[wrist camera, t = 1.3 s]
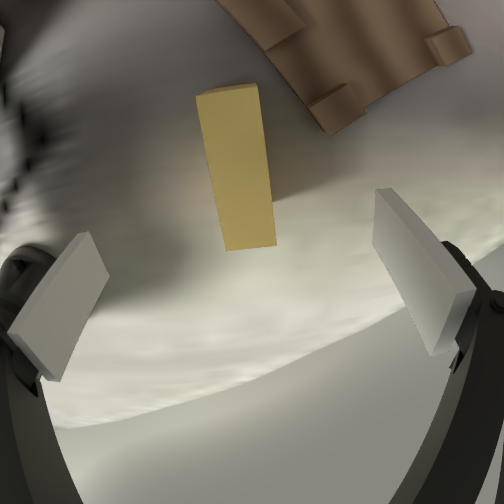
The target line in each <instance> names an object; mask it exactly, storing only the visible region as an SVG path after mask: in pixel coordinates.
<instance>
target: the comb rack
mask: <svg viewBox="0 0 504 504" xmlns="http://www.w3.org/2000/svg"><path fill="white" fill-rule="evenodd" d="M216 1H217V2H218V3H219V4H220V5H221V6H222V7H223V8H224V9H225V10H226V12H227V13H228V14H229V15H230V16H231V17H232V18H233V19H234V20H235V21H236V22H237V23H238V24H239V25H240V26H241V27H242V29H243V30H244V31H245V32H246V33H247V34H248V35H249V36H250V37H251V39H252V40H253V41H254V42H255V43H256V44H257V45H258V47H259V48H260V49H261V50H262V51H263V53H264V54H265V55H266V56H267V57H268V58H269V60H270V61H271V62H272V63H273V65H274V66H275V67H276V68H277V69H278V71H279V72H280V73H281V74H282V76H283V77H284V78H285V80H286V81H287V82H288V83H289V85H290V86H291V87H292V89H293V90H294V91H295V93H296V94H297V95H298V97H299V98H300V99H301V101H302V102H303V103H304V105H305V106H306V107H307V109H308V110H309V112H310V113H311V114H312V116H313V117H314V119H315V120H316V121H317V123H318V124H319V126H320V127H321V129H322V130H323V131H324V132H325V133H326V134H327V135H328V136H329V137H330V136H331V135H333V134H334V133H336V132H337V131H339V130H341V129H342V128H344V127H345V126H347V125H348V124H350V123H352V122H353V121H355V120H356V119H358V118H360V117H361V116H363V115H364V114H366V111H365V110H364V107H366V106H367V105H369V104H371V103H372V102H374V101H376V100H377V99H379V98H381V97H382V96H384V95H386V94H387V93H389V92H391V91H392V90H394V89H396V88H398V87H399V86H401V85H403V84H404V83H406V82H408V81H410V80H411V79H413V78H415V77H417V76H418V75H420V74H422V73H424V72H426V71H427V70H429V69H431V68H433V67H435V66H446V67H447V66H449V65H450V64H452V63H454V62H456V61H458V60H460V59H462V58H463V57H465V56H467V55H469V54H471V53H472V52H471V50H470V48H469V46H468V44H467V42H466V40H465V38H464V36H463V34H462V32H461V30H460V28H459V26H448V25H447V23H446V22H445V20H444V18H443V16H442V15H441V13H440V11H439V10H438V8H437V6H436V5H435V3H434V2H433V0H216Z"/></svg>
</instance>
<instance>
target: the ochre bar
mask: <svg viewBox="0 0 504 504" xmlns="http://www.w3.org/2000/svg"><path fill="white" fill-rule="evenodd" d="M195 98H196V103H197V109H198V114H199V119H200V125H201V130H202V135H203V141H204V146H205V151H206V156H207V161H208V166H209V171H210V176H211V181H212V186H213V191H214V196H215V201H216V206H217V211H218V215H219V220H220V225H221V230H222V234H223V239H224V244H225V248H226V251H232V250H241V249H250V248H259V247H268V246H277V241H276V232H275V223H274V214H273V205H272V196H271V187H270V179H269V171H268V162H267V154H266V146H265V138H264V131H263V123H262V115H261V108H260V101H259V93H258V86H257V84H256V83H249V84H241V85H234V86H227V87H221V88H215V89H210V90H208V91H206V92H203V93H201V94H199V95H197V96H195Z"/></svg>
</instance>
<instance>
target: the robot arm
mask: <svg viewBox="0 0 504 504" xmlns="http://www.w3.org/2000/svg"><path fill="white" fill-rule="evenodd" d="M373 246H374V247H375V249H376V251H377V252H378V254H379V256H380V258H381V260H382V261H383V263H384V265H385V267H386V268H387V270H388V272H389V274H390V276H391V278H392V279H393V281H394V283H395V285H396V287H397V289H398V291H399V293H400V295H401V297H402V299H403V300H404V302H405V304H406V306H407V308H408V310H409V312H410V314H411V316H412V319H413V321H414V323H415V325H416V327H417V329H418V331H419V333H420V335H421V337H422V340H423V342H424V344H425V346H426V348H427V350H428V353H429V355H430V357H432V356H435V355H439V354H442V353H446V352H449V351H450V349H451V347H452V345H453V343H454V341H455V340H456V342H457V344H458V346H459V348H460V349H459V351H458V352H457V354H456V356H455V358H454V360H453V362H452V364H451V365H450V367H449V368H451V369H452V370H451V373H450V377H449V379H448V382H447V385H446V388H445V391H444V394H443V396H442V399H441V402H440V404H439V406H438V409H437V411H436V414H435V416H434V419H433V421H432V423H431V426H430V428H429V430H428V433H427V435H426V437H425V439H424V441H423V443H422V445H421V447H420V450H419V451H418V454H417V455H416V457H415V459H414V461H413V463H412V465H411V467H410V469H409V471H408V472H407V474H406V476H405V478H404V479H403V481H402V483H401V485H400V486H399V488H398V490H397V491H396V493H395V495H394V496H393V498H392V499H391V501H390V503H389V504H475V501H476V499H477V497H478V495H479V492H480V490H481V488H482V485H483V483H484V480H485V478H486V475H487V472H488V470H489V467H490V464H491V461H492V458H493V455H494V452H495V449H496V446H497V442H498V439H499V435H500V431H501V428H502V424H503V420H504V292H501V291H497V290H493V291H492V290H491V288H490V287H489V286H488V285H487V283H486V282H485V281H484V279H483V278H482V277H481V276H480V274H479V273H478V271H477V270H476V269H475V268H474V267H473V266H472V265H471V263H470V262H469V260H468V259H466V258H465V255H464V254H463V253H462V252H461V251H460V250H459V248H457V247H456V246H454V245H453V244H451V243H450V242H448V241H443V242H440V241H439V240H438V238H437V237H436V236H435V235H434V234H433V233H432V231H431V230H430V229H429V228H428V227H427V226H426V225H425V223H424V222H423V221H422V220H421V219H420V218H419V217H418V216H417V215H416V213H415V212H414V211H413V210H412V209H411V208H410V207H409V206H408V205H407V204H406V203H405V202H404V201H403V200H402V199H401V198H400V197H399V195H398V194H397V193H396V192H395V191H394V190H393V189H392V188H387V189H376V190H375V214H374V230H373ZM109 277H110V275H109V273H108V271H107V269H106V267H105V265H104V263H103V261H102V259H101V257H100V254H99V252H98V250H97V248H96V245H95V243H94V241H93V239H92V236H91V234H90V232H89V231H87V232H82V233H77V235H76V236H75V237H74V238H73V239H72V241H71V242H70V243H69V244H68V246H67V247H66V248H65V249H64V251H63V252H62V253H61V254H60V256H59V257H58V258H57V260H56V259H55V258H53V257H52V256H50V255H49V254H47V253H45V252H43V251H41V250H39V249H36V248H32V247H20V248H17V249H15V250H14V251H13V252H12V253H11V254H10V255H9V256H8V257H7V259H6V260H5V261H4V263H3V264H2V267H1V269H0V504H83V502H82V500H81V498H80V496H79V494H78V492H77V489H76V487H75V485H74V483H73V480H72V478H71V475H70V473H69V471H68V468H67V466H66V463H65V461H64V458H63V455H62V453H61V450H60V447H59V445H58V441H57V439H56V436H55V432H54V429H53V426H52V423H51V419H50V416H49V412H48V409H47V405H46V401H45V398H44V394H43V389H42V385H41V382H40V378H41V376H42V375H43V376H44V377H45V379H46V380H48V381H55V382H60V381H61V378H62V376H63V374H64V371H65V369H66V366H67V364H68V362H69V359H70V357H71V355H72V352H73V350H74V348H75V346H76V343H77V341H78V339H79V337H80V335H81V333H82V330H83V328H84V326H85V324H86V322H87V320H88V318H89V316H90V314H91V312H92V310H93V308H94V306H95V304H96V302H97V300H98V298H99V296H100V294H101V292H102V290H103V288H104V286H105V284H106V283H107V281H108V279H109ZM495 504H504V444H503V455H502V464H501V472H500V478H499V484H498V490H497V495H496V500H495Z"/></svg>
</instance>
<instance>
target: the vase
mask: <svg viewBox="0 0 504 504" xmlns="http://www.w3.org/2000/svg"><path fill="white" fill-rule="evenodd" d="M4 34H5V31H4V28H3V27H2V26H1V25H0V61H1V54H2V46H3V41H4Z"/></svg>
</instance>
